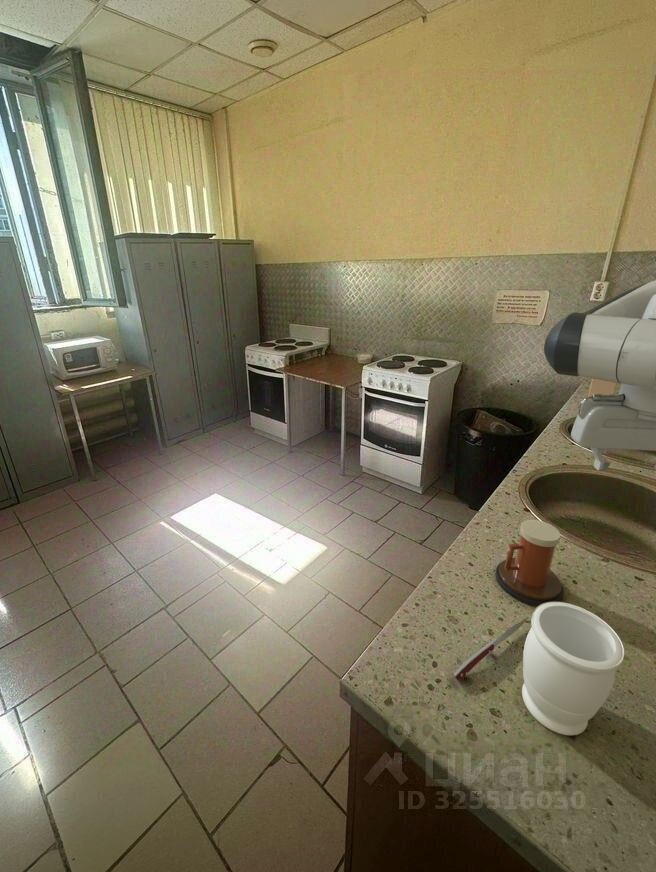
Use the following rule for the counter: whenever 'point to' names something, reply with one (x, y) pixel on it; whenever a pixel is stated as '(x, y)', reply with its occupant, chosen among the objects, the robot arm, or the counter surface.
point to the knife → (484, 652)
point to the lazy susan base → (523, 598)
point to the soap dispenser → (601, 387)
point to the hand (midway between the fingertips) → (630, 470)
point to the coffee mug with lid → (532, 562)
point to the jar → (568, 666)
